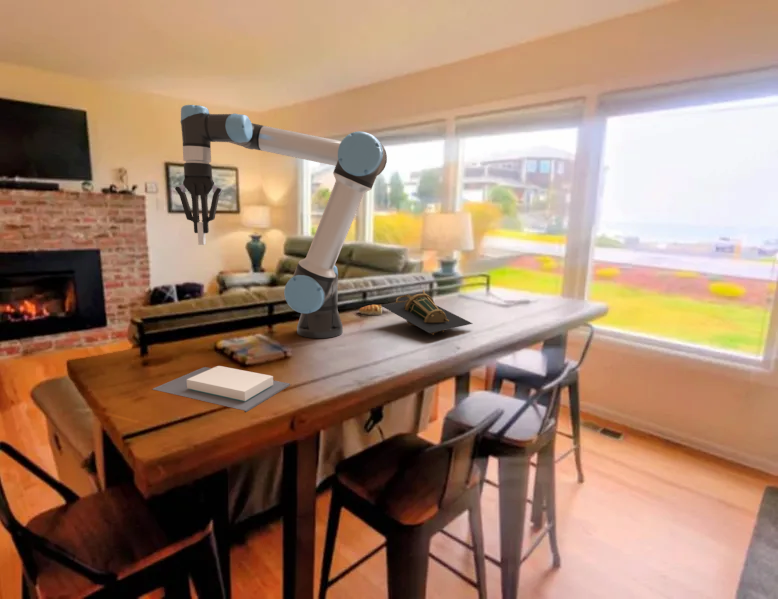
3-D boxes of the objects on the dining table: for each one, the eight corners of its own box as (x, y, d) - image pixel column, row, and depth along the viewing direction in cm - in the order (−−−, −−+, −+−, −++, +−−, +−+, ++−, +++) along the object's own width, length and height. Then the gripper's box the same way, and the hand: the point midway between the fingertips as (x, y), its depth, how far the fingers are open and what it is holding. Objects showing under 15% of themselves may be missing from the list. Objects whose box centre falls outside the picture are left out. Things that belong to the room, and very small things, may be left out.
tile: (186, 379, 102) (244, 391, 97) (218, 365, 111) (273, 376, 106) (187, 389, 103) (245, 402, 97) (218, 375, 112) (273, 386, 106)
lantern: (422, 353, 146) (365, 312, 166) (465, 346, 163) (408, 309, 182) (435, 315, 142) (375, 277, 161) (478, 312, 158) (419, 278, 178)
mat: (152, 390, 103) (151, 389, 103) (204, 368, 117) (204, 366, 117) (245, 412, 94) (245, 410, 93) (290, 385, 108) (290, 383, 108)
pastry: (359, 315, 179) (359, 306, 178) (358, 311, 185) (358, 302, 185) (383, 315, 180) (383, 306, 179) (381, 312, 186) (381, 302, 186)
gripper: (223, 164, 137) (227, 243, 142) (177, 163, 135) (183, 243, 140) (218, 162, 130) (222, 245, 135) (169, 160, 128) (175, 245, 133)
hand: (202, 244), depth 137 cm, fingers closed
